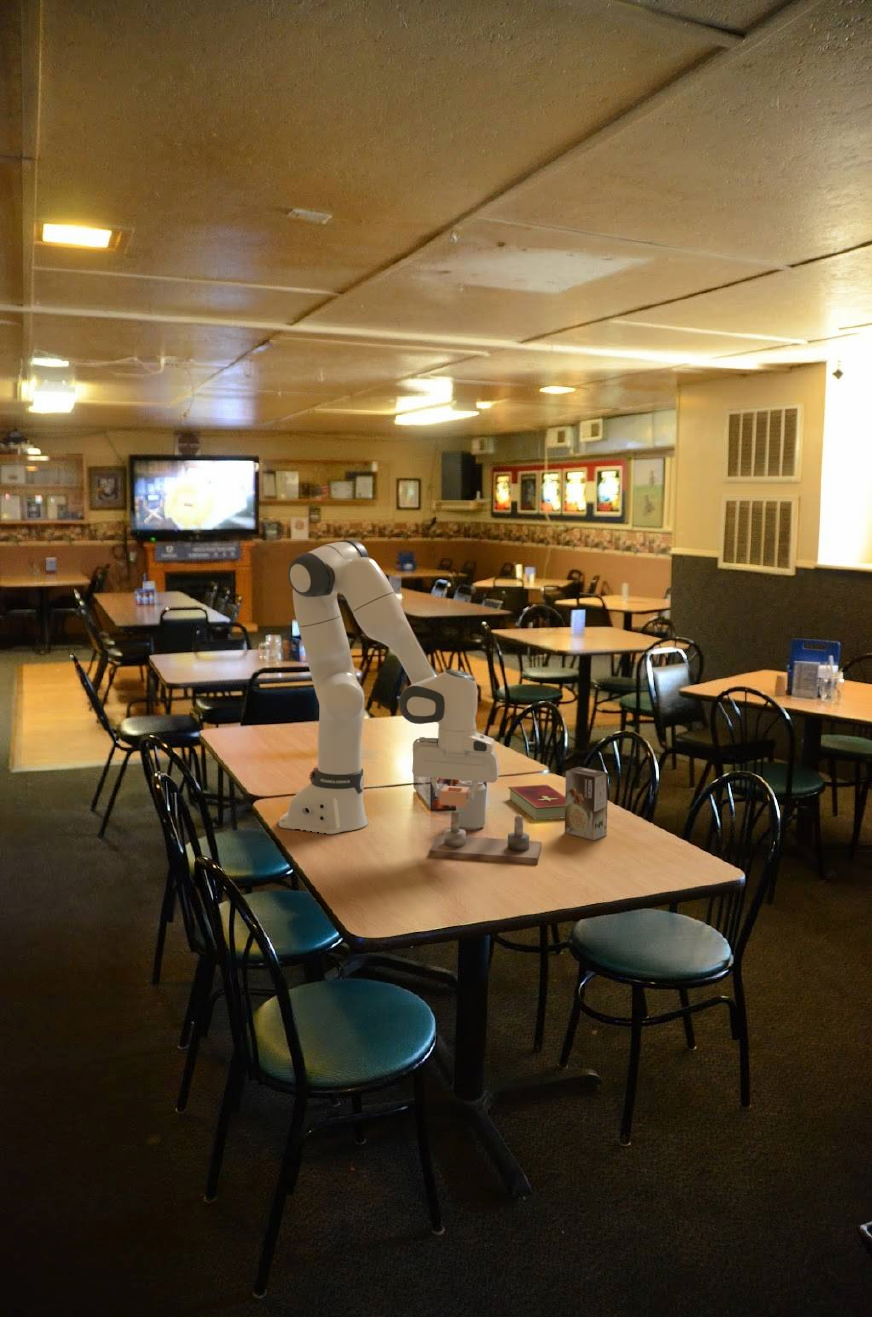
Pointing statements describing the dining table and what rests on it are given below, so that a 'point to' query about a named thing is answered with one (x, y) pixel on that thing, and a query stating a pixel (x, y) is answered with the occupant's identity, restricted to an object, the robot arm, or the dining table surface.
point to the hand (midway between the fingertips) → (454, 797)
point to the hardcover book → (539, 801)
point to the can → (473, 807)
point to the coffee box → (586, 803)
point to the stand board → (486, 845)
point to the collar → (454, 796)
